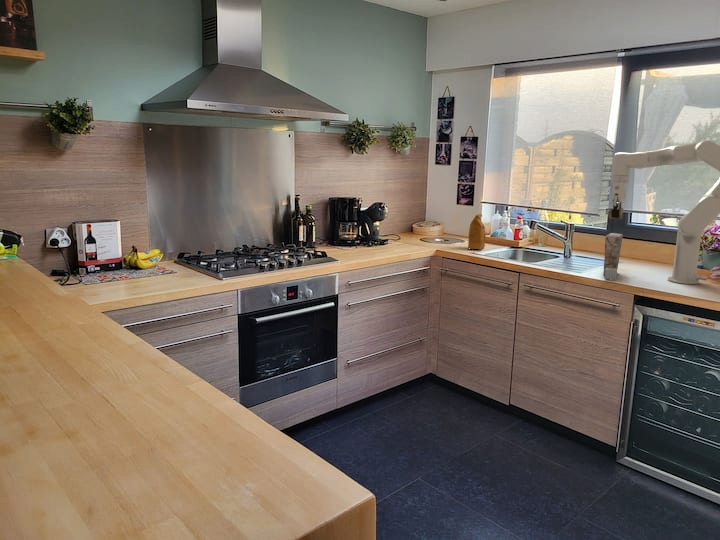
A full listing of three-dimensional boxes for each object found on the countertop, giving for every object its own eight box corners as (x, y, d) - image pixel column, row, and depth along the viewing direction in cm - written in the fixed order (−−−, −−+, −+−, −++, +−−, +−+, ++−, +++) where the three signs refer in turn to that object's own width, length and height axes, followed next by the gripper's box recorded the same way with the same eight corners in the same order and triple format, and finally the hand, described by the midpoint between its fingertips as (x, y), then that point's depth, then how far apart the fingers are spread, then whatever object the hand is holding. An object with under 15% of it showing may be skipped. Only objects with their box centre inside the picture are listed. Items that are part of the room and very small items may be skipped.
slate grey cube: (615, 278, 262) (616, 268, 261) (616, 280, 257) (617, 270, 256) (604, 277, 264) (605, 267, 263) (604, 279, 259) (605, 269, 258)
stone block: (617, 277, 264) (621, 236, 260) (601, 276, 267) (605, 235, 263) (618, 272, 275) (623, 233, 272) (603, 271, 279) (607, 232, 275)
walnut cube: (622, 218, 267) (623, 207, 266) (620, 219, 263) (621, 208, 262) (611, 217, 269) (612, 207, 268) (609, 218, 265) (610, 207, 264)
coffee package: (487, 248, 348) (489, 213, 343) (481, 251, 337) (483, 215, 333) (472, 247, 353) (473, 212, 348) (465, 249, 342) (467, 214, 338)
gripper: (625, 179, 253) (621, 219, 257) (631, 179, 267) (627, 216, 271) (608, 179, 257) (604, 218, 261) (614, 178, 271) (610, 215, 275)
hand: (615, 216), depth 266 cm, fingers closed on walnut cube, 5 cm apart
